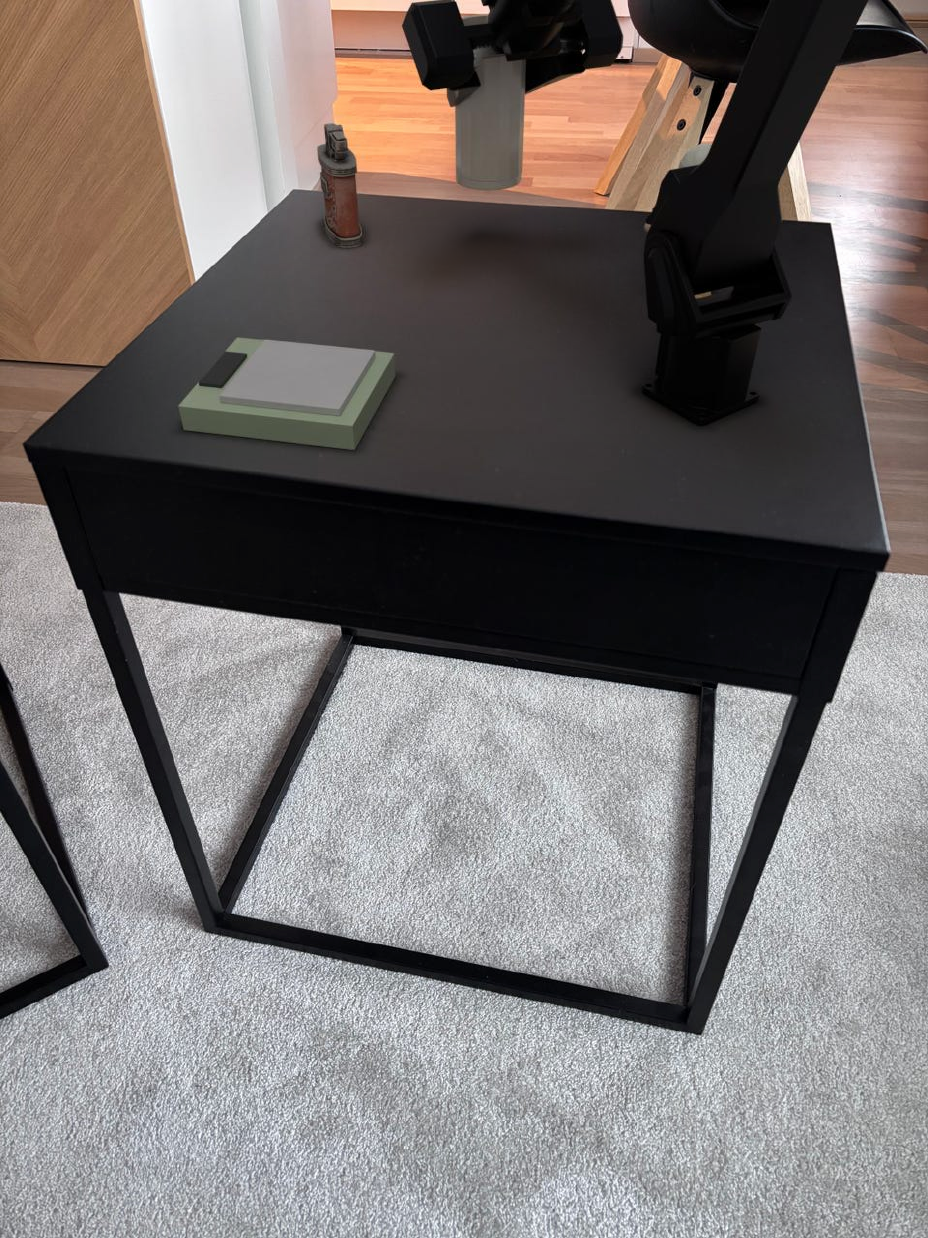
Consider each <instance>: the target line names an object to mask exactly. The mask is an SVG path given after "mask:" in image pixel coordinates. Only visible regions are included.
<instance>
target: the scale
mask: <svg viewBox="0 0 928 1238" xmlns="http://www.w3.org/2000/svg"><path fill="white" fill-rule="evenodd" d="M395 359H396V358H395V353H394V352H386V351H377V350H374V349H364V348H354V347H346V346H334V345H323V344H314V343H304V342H295V341H294V342H293V341H286V340H285V341H283V340H274V339H256V338H246V337H236V338H235V339H234V340H233V342H232V343H231V344H230V345H229V346H228V348H227V349H226V350H225V351H224V352H223V353H222V354H221V355H220V357H219V358H218V359H217V360H216V361H215V363H214V364H213V365H212V366H211V367H210V368H209V369H208V371H206V373H205V374H204V375H203V376H202V378H201V379H200V380H199V381H198V382H197V383H196V385H195V386H194V387H193V388H192V389H191V390H190V392H188V394H187V395H186V396H185V397H184V398H183V400H182V401H181V402H180V403H179V404H178V405H177V407H178V411H179V415H180V420H181V424H182V429H183V431H189V432H197V433H206V434H213V435H222V436H229V437H239V438H247V439H257V440H264V441H274V442H283V443H290V444H299V445H307V446H317V447H324V448H334V449H341V450H350V451H355V450H356V448H358V445H359V443H360V441H361V440H362V438H363V436H364V435H365V432H366V431H367V429H368V427H369V425H370V423H371V421H372V419H373V417H374V416H375V414H376V413H377V410H378V409H379V408H380V405H381V404H382V401H383V400H384V398H385V396H386V394H387V392H388V390H389V389H390V387H391V386H392V383H393V381H394V380H395V378H396V361H395Z"/></svg>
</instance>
